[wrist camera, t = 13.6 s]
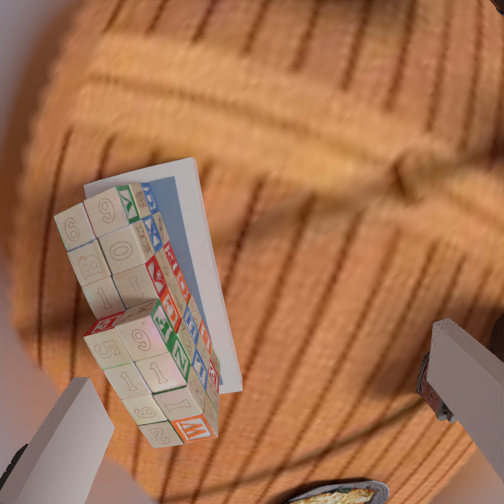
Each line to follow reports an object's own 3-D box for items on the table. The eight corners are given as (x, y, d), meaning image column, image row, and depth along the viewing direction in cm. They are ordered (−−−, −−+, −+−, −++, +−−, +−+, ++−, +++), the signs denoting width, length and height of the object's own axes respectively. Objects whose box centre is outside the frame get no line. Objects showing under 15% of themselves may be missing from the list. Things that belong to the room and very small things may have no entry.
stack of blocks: (97, 203, 31) (31, 219, 19) (150, 181, 30) (101, 184, 19) (173, 377, 36) (153, 451, 24) (222, 364, 35) (218, 440, 23)
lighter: (430, 390, 42) (460, 427, 33) (413, 395, 42) (442, 434, 33) (440, 347, 41) (477, 382, 31) (422, 352, 41) (458, 389, 31)
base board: (94, 184, 33) (82, 185, 30) (195, 158, 33) (191, 157, 30) (154, 387, 39) (149, 401, 36) (241, 377, 40) (242, 391, 36)
